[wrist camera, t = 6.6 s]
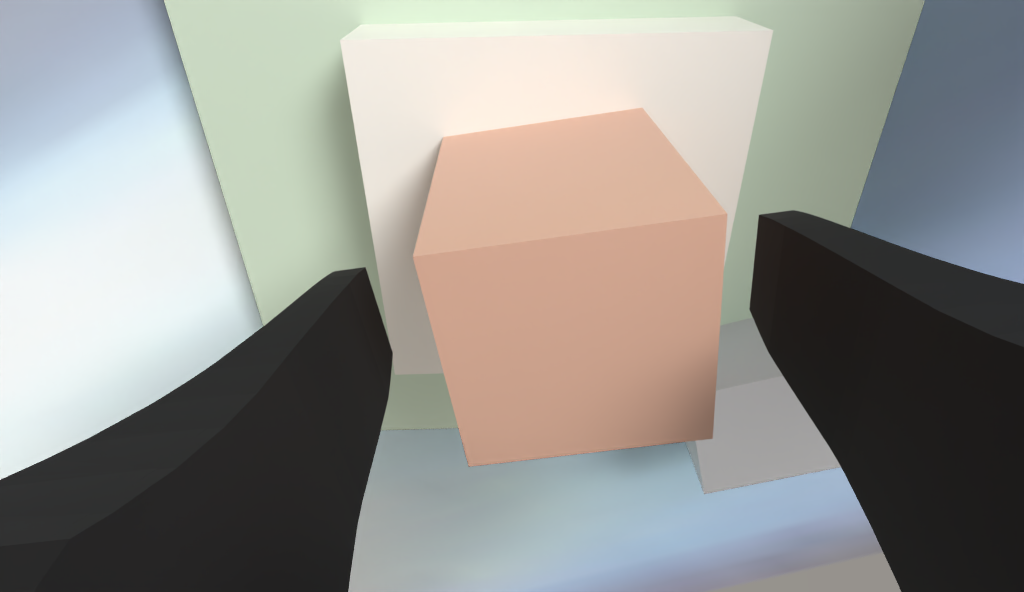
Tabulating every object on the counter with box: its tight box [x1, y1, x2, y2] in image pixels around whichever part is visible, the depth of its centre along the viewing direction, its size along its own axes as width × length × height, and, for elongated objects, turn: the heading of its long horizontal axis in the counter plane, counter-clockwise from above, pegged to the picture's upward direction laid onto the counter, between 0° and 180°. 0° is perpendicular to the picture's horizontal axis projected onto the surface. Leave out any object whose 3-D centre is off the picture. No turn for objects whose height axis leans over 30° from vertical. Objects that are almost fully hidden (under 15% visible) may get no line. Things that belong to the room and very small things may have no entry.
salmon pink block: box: [413, 108, 727, 467], centre depth 11 cm, size 4×4×5 cm
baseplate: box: [164, 0, 925, 430], centre depth 15 cm, size 16×16×1 cm
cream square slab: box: [340, 16, 773, 375], centre depth 14 cm, size 8×8×2 cm
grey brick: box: [685, 318, 841, 494], centre depth 17 cm, size 4×4×2 cm
